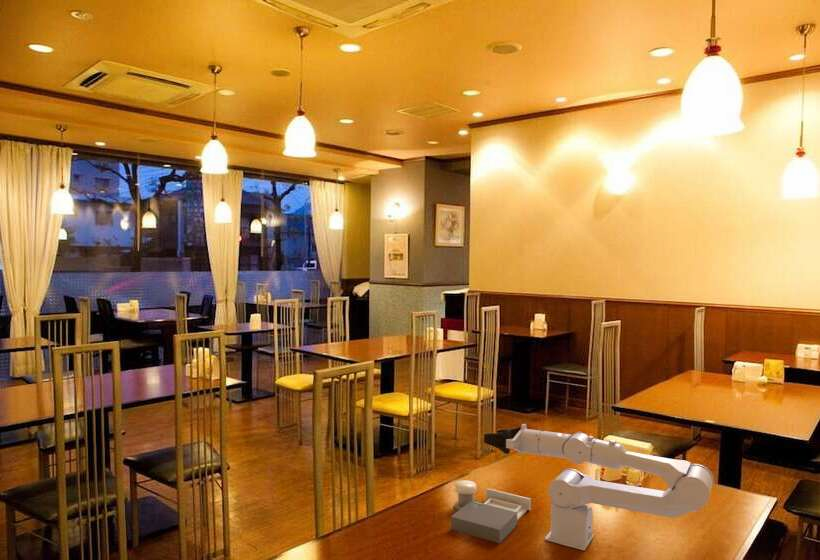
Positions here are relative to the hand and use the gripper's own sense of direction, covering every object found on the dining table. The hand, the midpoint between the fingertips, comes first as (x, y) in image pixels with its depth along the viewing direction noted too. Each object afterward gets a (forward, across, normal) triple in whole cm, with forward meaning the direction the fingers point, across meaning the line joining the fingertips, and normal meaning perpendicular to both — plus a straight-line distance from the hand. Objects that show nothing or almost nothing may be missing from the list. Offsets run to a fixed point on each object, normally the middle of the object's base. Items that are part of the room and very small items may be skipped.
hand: (491, 436), depth 149 cm
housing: (0, +3, +22) cm, 22 cm away
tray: (0, -6, +21) cm, 22 cm away
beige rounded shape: (+9, -4, +16) cm, 19 cm away
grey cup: (+10, -5, +20) cm, 23 cm away
